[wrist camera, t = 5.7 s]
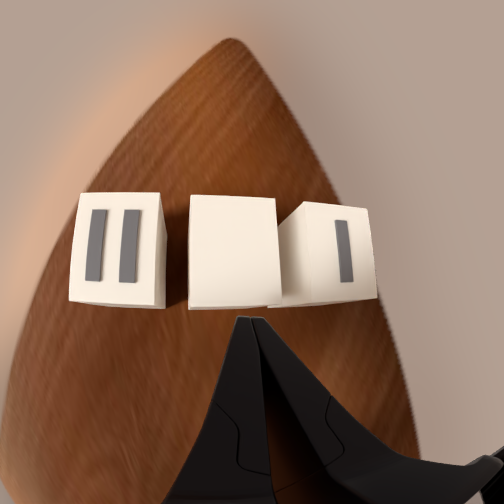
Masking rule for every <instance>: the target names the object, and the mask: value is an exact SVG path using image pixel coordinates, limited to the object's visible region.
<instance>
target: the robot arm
mask: <svg viewBox="0 0 504 504" xmlns="http://www.w3.org/2000/svg"><path fill="white" fill-rule="evenodd" d="M330 395H331V394H330V392H329V391H328V390H327V389H326V388H325V387H324V386H323V385H322V384H321V382H320V381H319V380H318V379H317V378H316V377H315V376H314V375H313V373H312V372H311V371H310V370H309V369H308V368H307V367H306V366H305V364H304V363H303V362H302V361H301V360H300V359H299V358H298V357H297V355H296V354H295V353H294V352H293V351H292V350H291V349H290V347H289V346H288V345H287V344H286V343H285V342H284V340H283V339H282V338H281V337H280V336H279V335H278V333H277V332H276V331H275V330H274V329H273V328H272V326H271V325H270V324H269V323H268V322H267V321H266V319H265V318H263V317H249V316H237V317H236V320H235V324H234V327H233V330H232V334H231V337H230V340H229V343H228V347H227V350H226V353H225V357H224V360H223V363H222V366H221V370H220V373H219V376H218V380H217V383H216V386H215V389H214V393H213V396H212V399H211V402H210V405H209V408H208V412H207V415H206V417H205V420H204V423H203V426H202V428H201V431H200V433H199V435H198V437H197V439H196V442H195V444H194V446H193V448H192V450H191V451H190V453H189V455H188V457H187V459H186V461H185V463H184V465H183V467H182V469H181V471H180V472H179V474H178V476H177V478H176V480H175V482H174V484H173V485H172V487H171V489H170V490H169V492H168V494H167V495H166V497H165V499H164V500H163V502H162V503H161V504H504V446H503V447H502V448H500V449H499V450H497V451H496V452H495V453H493V454H492V455H490V456H488V455H483V456H481V457H479V458H477V459H475V460H474V461H472V462H470V463H469V464H467V465H465V466H459V465H450V464H443V463H436V462H430V461H425V460H420V459H414V458H410V457H406V456H403V455H401V454H399V453H397V452H395V451H394V450H392V449H391V448H389V447H388V446H387V445H386V444H384V443H383V442H382V441H381V440H380V439H378V438H377V437H376V436H375V435H373V434H372V433H371V432H370V431H369V430H367V429H366V428H365V427H364V426H363V425H362V424H361V423H359V422H358V421H357V420H356V419H355V418H354V417H353V416H352V415H351V414H350V413H349V412H348V411H347V410H346V409H345V408H344V407H343V406H342V405H341V404H340V403H339V402H338V401H337V400H336V399H335V398H334V397H333V396H332V395H331V396H330Z"/></svg>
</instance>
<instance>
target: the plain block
mask: <svg viewBox="0 0 504 504" xmlns="http://www.w3.org/2000/svg"><path fill="white" fill-rule="evenodd" d="M279 304H282V290H281V274H280V259H279V245H278V231H277V218H276V206H275V199H273V198H257V197H238V196H214V195H191V199H190V212H189V226H188V307H189V310H205V309H241V308H254V307H263V306H271V305H279Z"/></svg>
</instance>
